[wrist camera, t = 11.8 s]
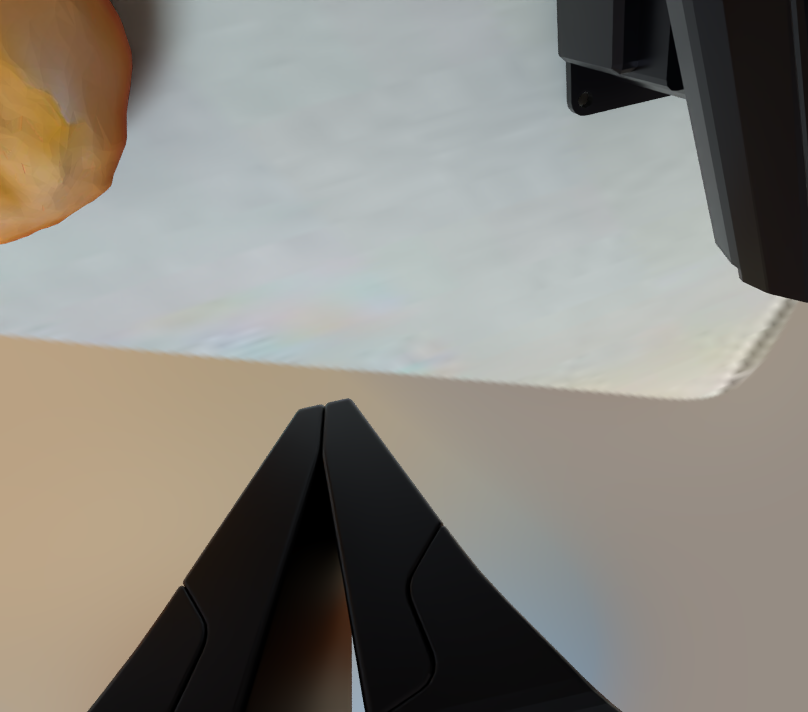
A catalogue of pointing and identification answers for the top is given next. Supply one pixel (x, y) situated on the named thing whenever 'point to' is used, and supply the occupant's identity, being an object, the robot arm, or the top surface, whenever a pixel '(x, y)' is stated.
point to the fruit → (59, 108)
